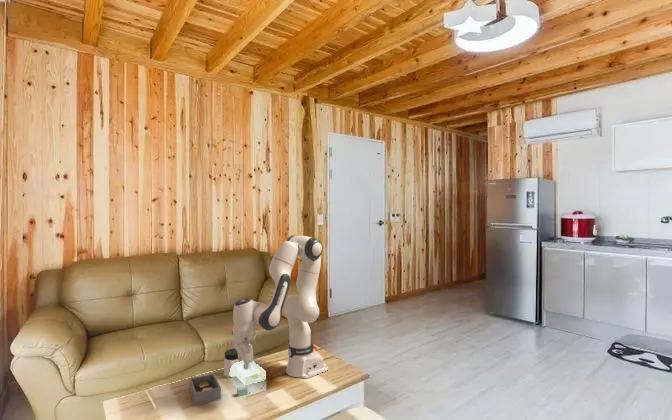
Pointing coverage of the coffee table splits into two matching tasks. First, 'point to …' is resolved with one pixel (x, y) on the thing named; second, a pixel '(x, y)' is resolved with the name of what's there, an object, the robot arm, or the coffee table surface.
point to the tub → (205, 395)
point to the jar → (230, 360)
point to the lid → (241, 391)
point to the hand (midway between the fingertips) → (243, 364)
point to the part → (202, 386)
